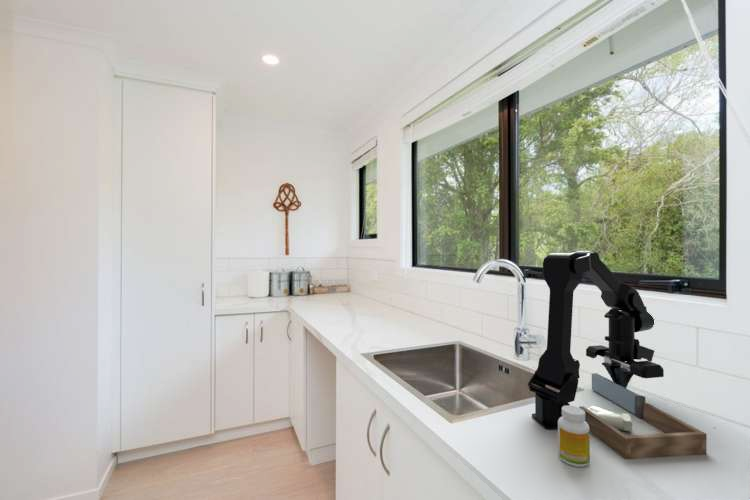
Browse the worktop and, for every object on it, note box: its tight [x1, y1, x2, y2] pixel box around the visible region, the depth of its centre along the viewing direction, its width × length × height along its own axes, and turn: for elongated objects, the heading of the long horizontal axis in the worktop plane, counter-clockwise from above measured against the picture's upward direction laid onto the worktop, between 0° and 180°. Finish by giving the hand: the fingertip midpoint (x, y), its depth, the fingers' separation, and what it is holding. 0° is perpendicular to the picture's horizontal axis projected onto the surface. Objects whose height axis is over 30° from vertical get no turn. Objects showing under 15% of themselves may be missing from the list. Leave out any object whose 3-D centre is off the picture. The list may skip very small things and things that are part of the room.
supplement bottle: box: [557, 405, 591, 468], centre depth 68 cm, size 5×5×10 cm
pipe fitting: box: [587, 405, 633, 433], centre depth 81 cm, size 8×4×7 cm
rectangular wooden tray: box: [578, 394, 707, 460], centre depth 77 cm, size 17×16×5 cm
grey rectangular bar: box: [591, 372, 639, 415], centre depth 93 cm, size 15×2×4 cm, turn 5°
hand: (621, 392), depth 94 cm, fingers closed
